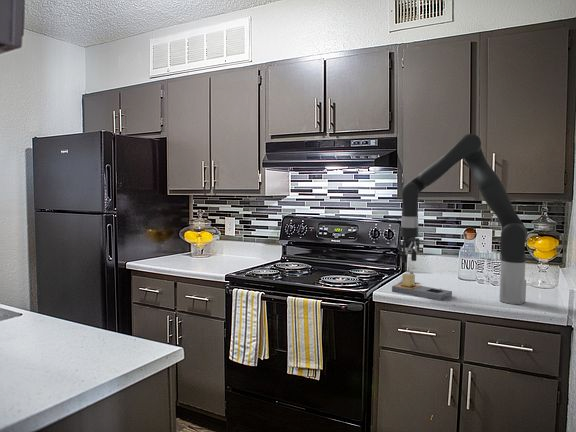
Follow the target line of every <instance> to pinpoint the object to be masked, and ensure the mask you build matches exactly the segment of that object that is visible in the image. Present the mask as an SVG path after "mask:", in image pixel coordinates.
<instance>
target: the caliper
mask: <svg viewBox="0 0 576 432" xmlns="http://www.w3.org/2000/svg"><path fill="white" fill-rule="evenodd" d="M409 274H414V275H415V273H414V270H410V271H409ZM401 283H402V279H401V280H400V281H398V282H396V283H395V284H394V285H397V284H401Z"/></svg>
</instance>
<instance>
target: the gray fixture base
mask: <svg viewBox="0 0 576 432" xmlns="http://www.w3.org/2000/svg"><path fill="white" fill-rule="evenodd" d="M391 292H392V293H398V294H403V295H410V296H414V297H419V298H425V299H428V300H429V299H431V300H436V301H440V302H442V301H444V300H447V299H451V298H452V297H453V291H451V290H447V289H441V288H435V287H431V286H424V285H421V284H415V287H412V288H409V287H403V286H402V283H401V284H397V285H395V284H394V285H392V286H391Z"/></svg>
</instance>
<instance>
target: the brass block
mask: <svg viewBox="0 0 576 432" xmlns="http://www.w3.org/2000/svg"><path fill="white" fill-rule="evenodd" d="M401 275H402V277H401V280H402V286H403V287H409V288H412V287H415V285H416V283H415V282H416V281H415V280H416V274H415V273H414V274H410V273H408V272H407V273H404V274H403V273H402V274H401Z"/></svg>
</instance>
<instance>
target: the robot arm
mask: <svg viewBox="0 0 576 432" xmlns="http://www.w3.org/2000/svg"><path fill="white" fill-rule="evenodd" d="M461 160H464V161H465V163H467V166H468V167H469V168H470V171H471V173H472V176H473V179H474V182H475V183H476V186H477V188H478V191H479V192H480V194H481V196H482V198H483V200H484V201H485V203H486V205H488V207H489V208H490V210H491V211H492V212H493V213H494V214H495V216H496V217H497V219H498V221H499V224H500V225H501V228H502V229H501V233H500V250H499V252H500V256H501V259H500V276H499V277H500V281H499V282H500V283H499V301H500V302H502V303H506V304H511V305H523V304H525V303H526V297H527V295H526V294H527V280H526V258H527V257H526V240H527V238H528V235H529V232H528V229H527V227H526V226H525V225H524V223H523V221H522V220H521V219H520V216H518V214H517V212H516V211H515V209H514V206H513V204H512V202H511V200H510V197H509V195H508V193H507V191H506V188H505V187H504V185H503V183H502V181H501V179H500V178H499V176H498V175H497V173H496V172H495V170H494V169H493V168H492V167H491V165H490V164H489V163H488V161H487V159H486V157H485V155H484V153H483V149H482V140H481V138H480V137H479V136H478V135H477V134H475V133H467V134H464V135H463V136H462V137H461V138H460V139H459V140H458V141H457V142H456V143H455V144H454V145H453V146H452V147H451V148H450V149H449V150H447V152H446V153H445V154H444V155H442V156H441V157H440V158H438V159H437V160H436V161H434V162H433V163H431V164H430V165H428V167H426V168H424V169H423V170H422V171H421V172H420V173H419V174H417V176H415V177H413V178H412V179H410V180H409V181H408V182H406V183H405V184H404V185H403V186H402V188H401V190H402V191H401V193H402V195H401V196H402V197H401V198H402V207H401V223H400V236H401V238H402V237H403V239H399V242H398V254H400V255H401V263H403V264H407V263H408V252H409V251H411V252H410V253H411V255H410V256H411V258H410V260H411V261H412V262H416V261H417V253H418V252H419V251H420V238H418V237H419V209H418V208H419V207H418V206H419V205H418V202H419V201H418V200H419V194H420V193H421V192H422V191H423V190H425V189H426V188H427V187H429V186H430V185H432V184H434V183H436V181H438V180H439V179H440V178H441V177H443V176H444V175H445V174H446V173H447V172H448V171H449V170H450V169H452V168H453V166H455V165H456V164H457V163H459V162H460V161H461Z"/></svg>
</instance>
